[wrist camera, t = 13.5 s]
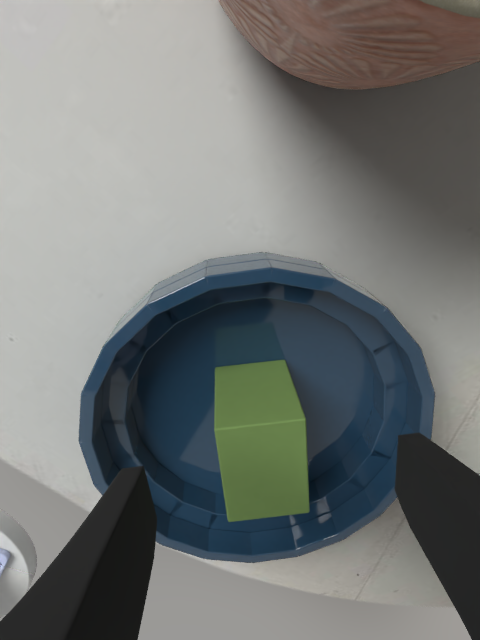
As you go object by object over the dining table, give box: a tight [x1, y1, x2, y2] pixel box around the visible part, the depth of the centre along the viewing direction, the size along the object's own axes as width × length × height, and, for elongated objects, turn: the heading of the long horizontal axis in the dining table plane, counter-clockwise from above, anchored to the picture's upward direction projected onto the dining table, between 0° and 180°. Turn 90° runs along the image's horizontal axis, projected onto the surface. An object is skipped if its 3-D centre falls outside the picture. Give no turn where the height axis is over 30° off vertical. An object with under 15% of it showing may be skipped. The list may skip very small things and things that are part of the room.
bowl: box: [79, 252, 435, 563], centre depth 19 cm, size 16×16×4 cm
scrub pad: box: [214, 360, 310, 522], centre depth 18 cm, size 5×4×5 cm
